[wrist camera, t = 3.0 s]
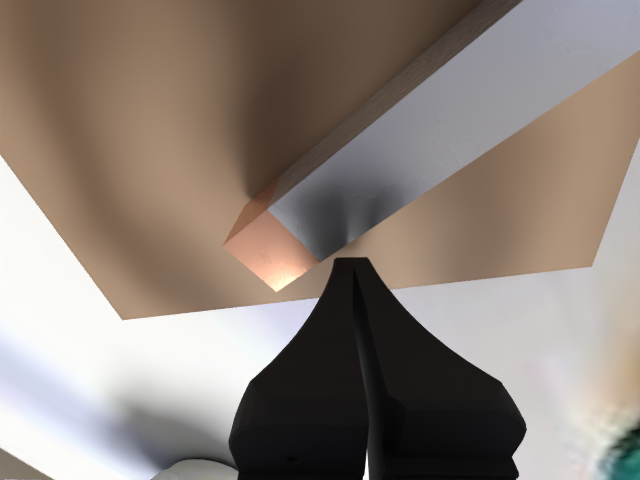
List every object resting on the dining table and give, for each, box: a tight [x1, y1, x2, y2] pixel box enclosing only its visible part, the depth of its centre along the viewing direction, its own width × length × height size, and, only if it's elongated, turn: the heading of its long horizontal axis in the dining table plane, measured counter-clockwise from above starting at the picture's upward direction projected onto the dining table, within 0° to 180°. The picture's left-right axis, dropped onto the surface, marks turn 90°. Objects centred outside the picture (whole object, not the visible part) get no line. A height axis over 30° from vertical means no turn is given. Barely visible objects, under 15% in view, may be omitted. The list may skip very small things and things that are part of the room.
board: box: [0, 0, 640, 320], centre depth 10 cm, size 23×20×1 cm
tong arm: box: [223, 0, 640, 292], centre depth 9 cm, size 12×2×3 cm, turn 130°
